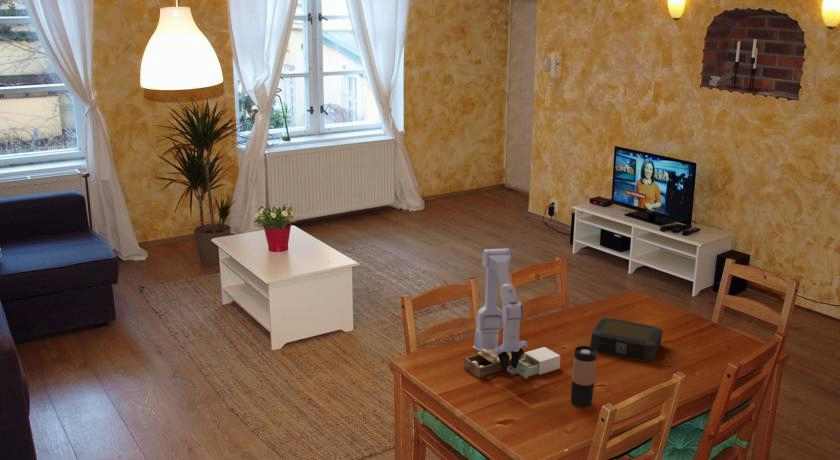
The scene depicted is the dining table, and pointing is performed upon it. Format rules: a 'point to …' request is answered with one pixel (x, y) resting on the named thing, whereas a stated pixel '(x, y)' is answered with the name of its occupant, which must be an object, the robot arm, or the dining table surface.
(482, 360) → the walnut box
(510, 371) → the drawer
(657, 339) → the cash box
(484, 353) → the box lid
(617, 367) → the dining table surface
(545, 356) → the white cabinet
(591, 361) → the travel mug
